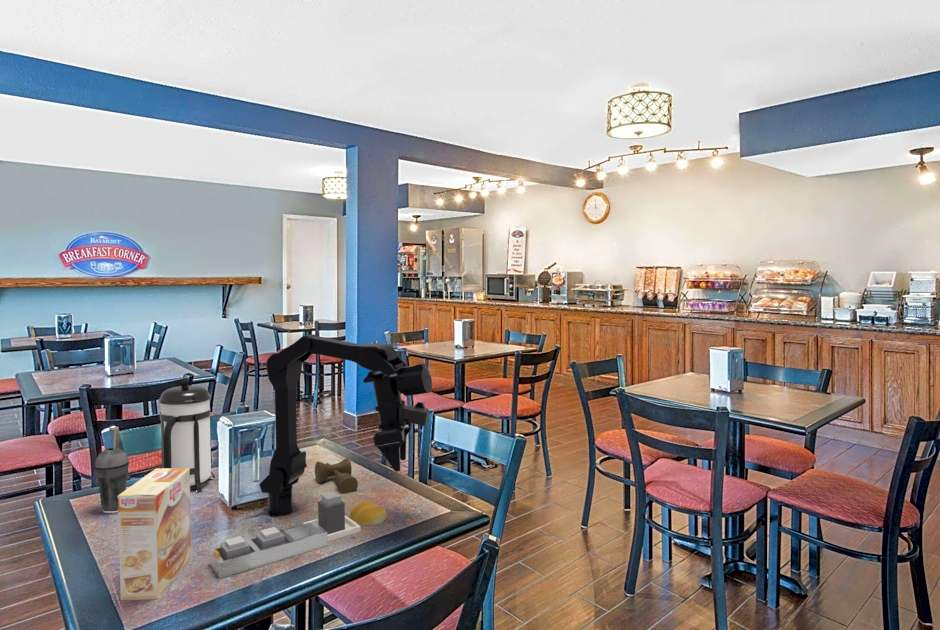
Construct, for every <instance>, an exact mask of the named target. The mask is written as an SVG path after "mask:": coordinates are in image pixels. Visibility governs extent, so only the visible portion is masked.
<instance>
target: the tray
mask: <svg viewBox="0 0 940 630" xmlns="http://www.w3.org/2000/svg"><path fill="white" fill-rule="evenodd" d="M312 521H314V522H316V523H317V524H318V518H316V519H311V520H309V521H305V522H302V524H305V523H309V522H312ZM361 526H362V525H358V524H357V523H356V522H354V521H353V520H351V518H350V517H348V516H347V515H346V514H345V530H342V531H338V532H335V533H331V534H328V535H327V538H328V542H331V541H333V540H334V541H335V540H338V539H340V538H344V537H348V536H351V535H355V534H357V533H361V532H362V528H361Z"/></svg>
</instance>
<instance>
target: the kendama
mask: <svg viewBox="0 0 940 630" xmlns="http://www.w3.org/2000/svg"><path fill="white" fill-rule="evenodd" d="M352 469H353V468H352V463H351V460H350V459H349V458H344V459H343V460H341V461H340V462H338V463H333V464H330V463H329V462H326V463H323V462H321V461H319V460H318V461H316V462H315V465H314V477H315V481H316V482H317V484H321V483H323V482H324V481H326V480H327V479H328V478H330V477H335V485H336V487H337V488H338V489H339V491H340V493H341V494H348V493H353V492H356V491H357V489H358V488H359V487H358V486H359V482H358V479H357V478H356V477H354V476H352V472H353V471H352Z"/></svg>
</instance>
